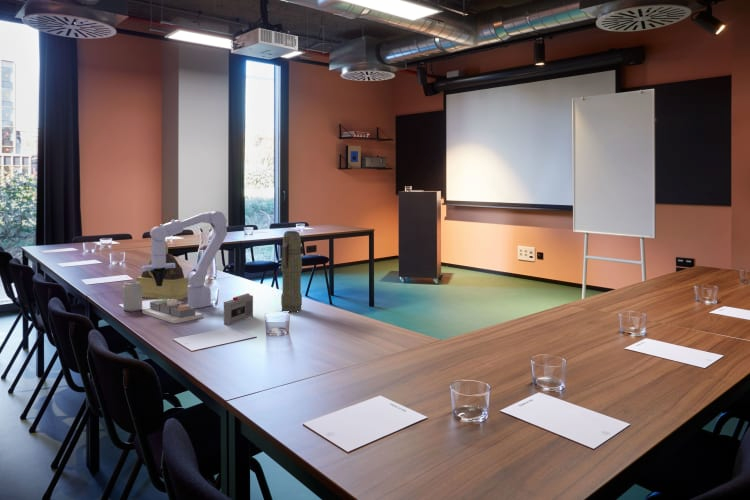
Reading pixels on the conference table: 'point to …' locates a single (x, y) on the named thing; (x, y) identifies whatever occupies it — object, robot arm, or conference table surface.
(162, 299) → the sage button
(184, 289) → the decorative clock
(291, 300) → the thermos
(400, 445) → the conference table surface
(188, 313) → the panel
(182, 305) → the terracotta button
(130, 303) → the can
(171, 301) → the cream button
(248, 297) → the cassette player
